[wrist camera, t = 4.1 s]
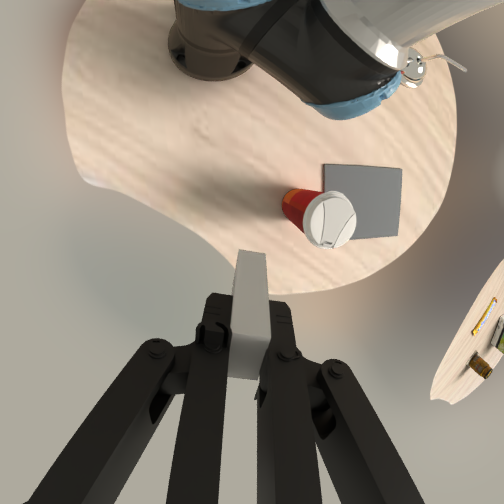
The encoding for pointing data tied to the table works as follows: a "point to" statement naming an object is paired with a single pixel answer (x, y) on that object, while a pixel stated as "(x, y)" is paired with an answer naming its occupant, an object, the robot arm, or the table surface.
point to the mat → (368, 197)
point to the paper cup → (321, 216)
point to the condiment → (479, 365)
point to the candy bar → (484, 316)
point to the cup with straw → (420, 68)
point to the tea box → (499, 335)
